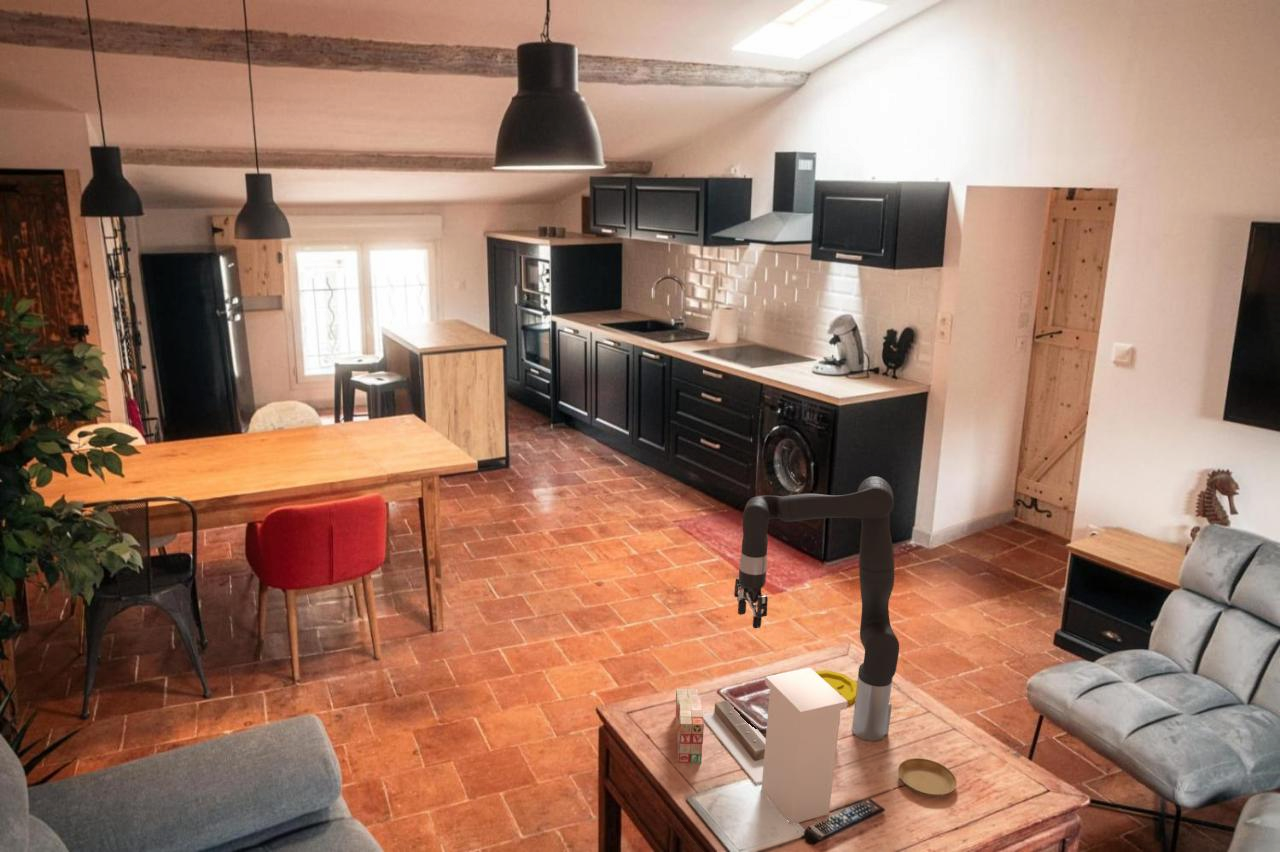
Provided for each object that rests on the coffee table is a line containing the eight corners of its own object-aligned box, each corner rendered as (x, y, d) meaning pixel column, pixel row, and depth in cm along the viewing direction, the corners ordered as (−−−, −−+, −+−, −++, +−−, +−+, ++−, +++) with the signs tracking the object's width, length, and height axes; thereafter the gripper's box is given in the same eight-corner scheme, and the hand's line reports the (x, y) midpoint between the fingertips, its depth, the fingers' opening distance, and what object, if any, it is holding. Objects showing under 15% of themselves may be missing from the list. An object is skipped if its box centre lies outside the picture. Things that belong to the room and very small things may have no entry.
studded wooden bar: (726, 709, 261) (727, 699, 260) (767, 758, 240) (768, 747, 239) (714, 711, 260) (715, 702, 259) (754, 761, 238) (755, 750, 238)
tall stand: (799, 776, 234) (810, 667, 225) (834, 815, 220) (847, 701, 211) (756, 787, 229) (765, 676, 220) (789, 828, 215) (800, 711, 206)
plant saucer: (884, 773, 237) (886, 764, 236) (928, 761, 243) (930, 752, 242) (922, 808, 224) (923, 800, 223) (968, 795, 230) (969, 786, 229)
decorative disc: (792, 679, 280) (792, 673, 280) (843, 673, 284) (843, 668, 284) (815, 709, 264) (815, 703, 264) (868, 703, 269) (869, 697, 268)
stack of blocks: (674, 716, 258) (676, 678, 255) (696, 717, 258) (698, 679, 255) (678, 763, 237) (680, 723, 234) (701, 764, 238) (704, 723, 234)
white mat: (736, 708, 263) (736, 706, 263) (795, 774, 235) (795, 772, 235) (700, 716, 258) (700, 714, 258) (755, 784, 230) (756, 782, 230)
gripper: (778, 576, 243) (773, 630, 247) (751, 556, 256) (748, 607, 260) (753, 580, 240) (749, 634, 245) (728, 559, 253) (725, 611, 257)
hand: (748, 620), depth 252 cm, fingers open, 8 cm apart
